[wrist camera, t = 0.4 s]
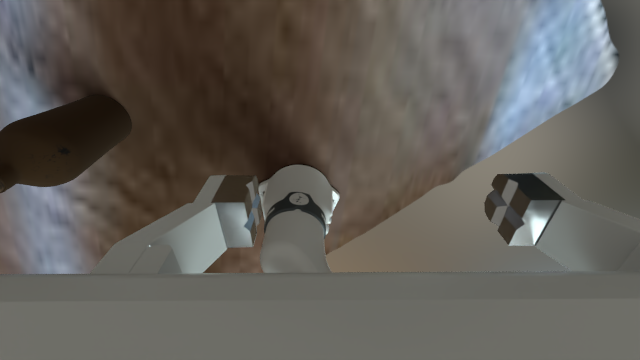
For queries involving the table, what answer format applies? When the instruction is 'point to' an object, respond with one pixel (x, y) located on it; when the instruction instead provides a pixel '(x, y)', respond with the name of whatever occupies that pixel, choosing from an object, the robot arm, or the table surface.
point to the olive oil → (60, 142)
